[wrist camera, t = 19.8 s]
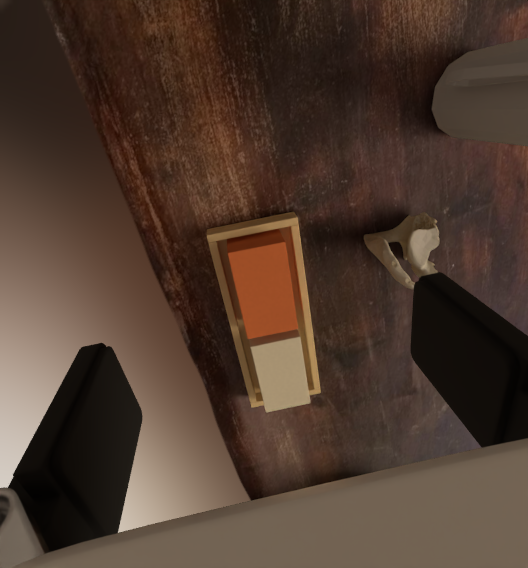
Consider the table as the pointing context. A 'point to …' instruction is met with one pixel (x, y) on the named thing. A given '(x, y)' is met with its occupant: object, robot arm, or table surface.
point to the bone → (407, 246)
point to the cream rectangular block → (280, 370)
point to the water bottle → (486, 95)
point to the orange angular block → (263, 283)
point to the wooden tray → (226, 282)
